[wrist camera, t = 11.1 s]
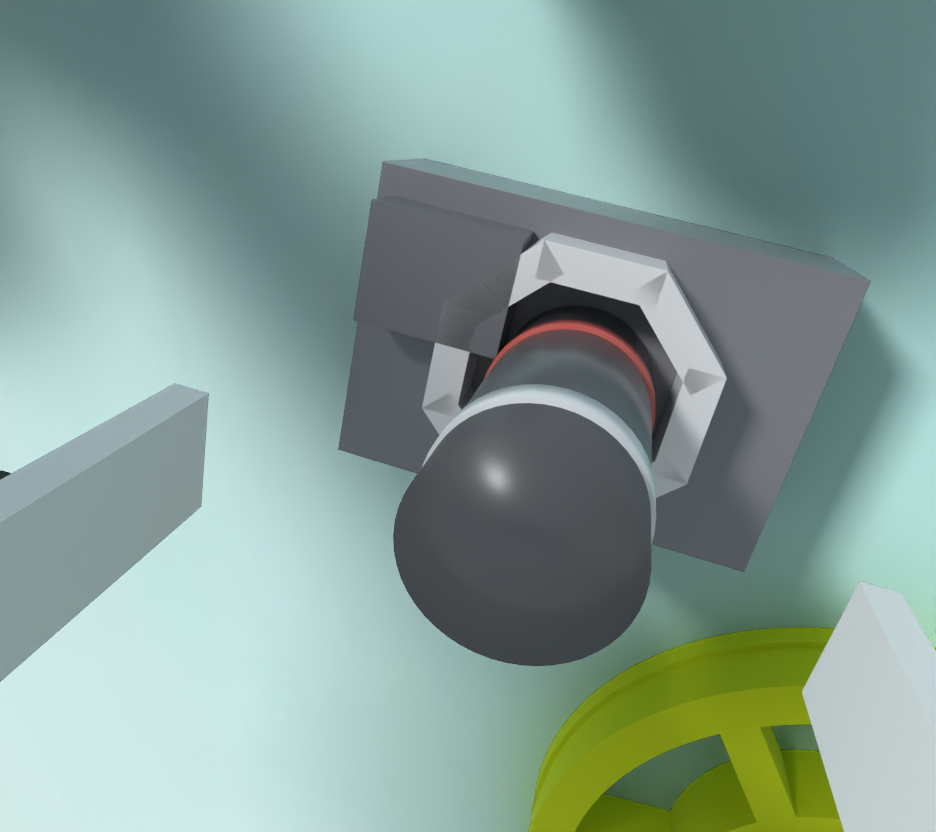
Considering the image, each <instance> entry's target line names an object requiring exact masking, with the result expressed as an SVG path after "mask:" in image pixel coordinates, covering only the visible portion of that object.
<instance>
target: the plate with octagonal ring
mask: <svg viewBox="0 0 936 832" xmlns="http://www.w3.org/2000/svg"><path fill="white" fill-rule="evenodd" d="M870 282H871V281H870V280H868V279H866V278H865V277H863V276H861V275H860V274H858V273H857V272H855V271H853V270H852V269H850V268H848V267H847V266H845V265H843V264H842V263H840V262H838V261H837V260H835V259H834V258H832V257H828V256H823V255H819V254H815V253H811V252H807V251H803V250H799V249H795V248H791V247H786V246H782V245H778V244H774V243H770V242H766V241H762V240H758V239H753V238H749V237H745V236H741V235H737V234H733V233H729V232H725V231H720V230H716V229H712V228H708V227H704V226H700V225H696V224H692V223H687V222H683V221H679V220H675V219H671V218H667V217H663V216H659V215H655V214H650V213H646V212H642V211H638V210H634V209H630V208H626V207H622V206H617V205H613V204H609V203H605V202H601V201H597V200H593V199H589V198H584V197H580V196H576V195H572V194H568V193H564V192H560V191H556V190H551V189H547V188H543V187H539V186H535V185H531V184H527V183H523V182H519V181H514V180H510V179H506V178H502V177H498V176H494V175H490V174H486V173H481V172H477V171H473V170H469V169H465V168H461V167H457V166H453V165H448V164H444V163H440V162H436V161H432V160H428V159H412V160H399V161H385V162H383V165H382V171H381V178H380V184H379V191H378V197H377V199H373V200H372V202H371V209H370V216H369V222H368V229H367V235H366V242H365V248H364V255H363V261H362V268H361V275H360V281H359V288H358V294H357V301H356V307H355V314H354V320H355V321H358V326H357V332H356V339H355V345H354V352H353V358H352V365H351V371H350V377H349V384H348V390H347V397H346V403H345V410H344V416H343V423H342V429H341V435H340V442H339V448H338V450H341V451H345V452H348V453H351V454H355V455H358V456H361V457H365V458H368V459H371V460H375V461H378V462H381V463H385V464H388V465H391V466H394V467H398V468H401V469H404V470H408V471H411V472H414V473H419V471H420V470H421V468H422V466H423V463H424V461H425V459H426V456H427V454H428V452H429V450H430V449H431V447H432V446H433V444H434V443H435V441H436V440H437V438H438V437H439V435H440V434H441V433H442V431H443V430H444V429H445V427H446V426H447V424H448V423H449V422H450V421H451V420H452V419H453V417H454V416H455V415H456V414H457V413H458V412H460V411H461V410H462V409H463V408H464V407H465V406H466V405H467V403H468V402H469V401H470V399H471V398H472V396H473V395H474V393H475V392H476V391H477V389H478V388H479V386H480V385H481V384H482V382H483V381H484V378H485V376H486V373H487V371H488V369H489V367H490V366H491V364H492V363H493V361H494V360H495V358H496V357H497V355H498V354H499V353H500V351H501V350H502V349H503V348H504V347H505V346H506V344H508V343H509V342H510V341H511V340H512V339H513V338H514V337H515V335H516V334H517V333H518V332H519V331H520V329H521V328H522V327H523V326H524V325H525V324H527V323H528V322H529V321H530V320H532V319H533V318H534V317H536V316H537V315H539V314H541V313H543V312H545V311H548V310H551V309H554V308H558V307H563V306H572V305H580V306H589V307H594V308H598V309H601V310H604V311H606V312H609V313H611V314H613V315H615V316H616V317H618V318H619V319H621V320H622V321H624V322H625V323H626V324H627V325H628V326H630V327H631V328H632V330H633V331H634V332H635V333H636V334H637V335H638V337H639V338H640V340H641V341H642V343H643V345H644V347H645V349H646V351H647V353H648V356H649V359H650V364H651V369H652V382H653V387H654V392H655V422H654V428H653V432H652V470H653V475H654V480H655V489H656V524H655V533H654V537H653V541H652V544H653V545H656V546H660V547H663V548H666V549H670V550H673V551H676V552H680V553H683V554H686V555H689V556H693V557H696V558H699V559H703V560H706V561H709V562H713V563H716V564H719V565H723V566H726V567H729V568H733V569H736V570H739V571H742V572H744V570H745V568H746V565H747V563H748V561H749V559H750V556H751V554H752V552H753V549H754V547H755V545H756V543H757V540H758V538H759V536H760V533H761V531H762V529H763V527H764V524H765V522H766V520H767V517H768V515H769V513H770V511H771V508H772V506H773V504H774V501H775V499H776V497H777V495H778V492H779V490H780V488H781V485H782V483H783V481H784V479H785V476H786V474H787V472H788V469H789V467H790V465H791V463H792V460H793V458H794V456H795V453H796V451H797V449H798V447H799V444H800V442H801V440H802V437H803V435H804V433H805V431H806V428H807V426H808V424H809V421H810V419H811V417H812V415H813V412H814V410H815V408H816V405H817V403H818V401H819V399H820V396H821V394H822V392H823V389H824V387H825V385H826V383H827V380H828V378H829V376H830V373H831V371H832V369H833V367H834V364H835V362H836V360H837V357H838V355H839V353H840V351H841V348H842V346H843V344H844V341H845V339H846V337H847V334H848V332H849V330H850V328H851V325H852V323H853V321H854V318H855V316H856V314H857V312H858V309H859V307H860V305H861V302H862V300H863V298H864V296H865V293H866V291H867V289H868V286H869V284H870Z"/></svg>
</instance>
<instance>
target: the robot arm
mask: <svg viewBox="0 0 936 832" xmlns="http://www.w3.org/2000/svg"><path fill="white" fill-rule="evenodd" d="M208 397H209V393H206V392H203V391H199V390H196V389H192V388H189V387H186V386H182V385H179V384H175V383H174V384H173V385H171V386H169V387H167V388H165V389H164V390H162V391H160V392H158V393H156V394H155V395H153V396H151V397H149V398H147V399H146V400H144V401H142V402H140V403H138V404H137V405H135V406H133V407H131V408H129V409H127V410H126V411H124V412H122V413H120V414H118V415H117V416H115V417H113V418H111V419H109V420H108V421H106V422H104V423H102V424H100V425H99V426H97V427H95V428H93V429H91V430H89V431H88V432H86V433H84V434H82V435H80V436H79V437H77V438H75V439H73V440H71V441H70V442H68V443H66V444H64V445H62V446H61V447H59V448H57V449H55V450H53V451H51V452H50V453H48V454H46V455H44V456H42V457H41V458H39V459H37V460H35V461H33V462H32V463H30V464H28V465H26V466H24V467H23V468H21V469H19V470H17V471H15V472H14V473H8V472H5V471H0V682H1V681H2V680H3V679H4V678H5V677H6V676H8V675H9V674H10V673H11V672H12V671H13V670H15V669H16V668H17V667H18V666H19V665H20V664H21V663H23V662H24V661H25V660H26V659H27V658H28V657H29V656H31V655H32V654H33V653H34V652H35V651H36V650H37V649H39V648H40V647H41V646H42V645H43V644H44V643H45V642H47V641H48V640H49V639H50V638H51V637H52V636H53V635H55V634H56V633H57V632H58V631H59V630H60V629H61V628H63V627H64V626H65V625H66V624H67V623H68V622H70V621H71V620H72V619H73V618H74V617H75V616H76V615H78V614H79V613H80V612H81V611H82V610H83V609H84V608H86V607H87V606H88V605H89V604H90V603H91V602H92V601H94V600H95V599H96V598H97V597H98V596H99V595H100V594H102V593H103V592H104V591H105V590H106V589H107V588H108V587H110V586H111V585H112V584H113V583H114V582H115V581H116V580H118V579H119V578H120V577H121V576H122V575H123V574H125V573H126V572H127V571H128V570H129V569H130V568H131V567H133V566H134V565H135V564H136V563H137V562H138V561H139V560H141V559H142V558H143V557H144V556H145V555H146V554H147V553H149V552H150V551H151V550H152V549H153V548H154V547H155V546H157V545H158V544H159V543H160V542H161V541H162V540H163V539H165V538H166V537H167V536H168V535H169V534H170V533H171V532H173V531H174V530H175V529H176V528H177V527H178V526H180V525H181V524H182V523H183V522H184V521H185V520H186V519H188V518H189V517H190V516H191V515H192V514H193V513H194V512H196V511H197V510H198V509H199V508H200V507H201V502H202V487H203V472H204V457H205V442H206V427H207V412H208ZM802 694H803V698H804V701H805V704H806V708H807V711H808V714H809V718H810V721H811V724H812V728H813V731H814V734H815V737H816V741H817V744H818V747H819V751H820V754H821V757H822V761H823V764H824V767H825V771H826V774H827V777H828V780H829V784H830V787H831V790H832V794H833V797H834V800H835V804H836V807H837V810H838V814H839V817H840V820H841V823H842V827H843V830H844V832H936V651H935V649H934V647H933V646H932V644H931V642H930V640H929V639H928V637H927V635H926V634H925V632H924V630H923V628H922V627H921V625H920V623H919V622H918V620H917V618H916V616H915V615H914V613H913V611H912V610H911V608H910V606H909V604H908V603H907V601H906V599H905V598H904V596H903V594H902V593H898V592H895V591H891V590H888V589H884V588H881V587H877V586H874V585H871V584H867V583H864V582H859V584H858V586H857V588H856V590H855V591H854V593H853V595H852V597H851V599H850V601H849V603H848V605H847V607H846V609H845V610H844V612H843V614H842V616H841V618H840V620H839V622H838V624H837V626H836V628H835V629H834V631H833V633H832V635H831V637H830V639H829V641H828V643H827V645H826V647H825V649H824V650H823V652H822V654H821V656H820V658H819V660H818V662H817V664H816V666H815V668H814V669H813V671H812V673H811V675H810V677H809V679H808V681H807V683H806V685H805V687H804V688H803V690H802Z"/></svg>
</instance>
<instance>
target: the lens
mask: <svg viewBox="0 0 936 832" xmlns="http://www.w3.org/2000/svg"><path fill="white" fill-rule="evenodd" d="M654 422H655V392H654V387H653V382H652V369H651V364H650V359H649V356H648V353H647V351H646V349H645V347H644V345H643V343H642V341H641V340H640V338H639V337H638V335H637V334H636V333H635V332H634V331H633V330H632V328H631V327H630V326H628V325H627V324H626V323H625V322H624V321H622V320H621V319H619V318H618V317H616V316H615V315H613V314H611V313H609V312H606V311H604V310H601V309H598V308H594V307H589V306H580V305H572V306H563V307H558V308H554V309H551V310H548V311H545V312H543V313H541V314H539V315H537V316H536V317H534V318H533V319H532V320H530V321H529V322H528V323H527V324H525V325H524V326H523V327H522V328H521V329H520V331H519V332H518V333H517V334H516V335H515V337H514V338H513V339H512V340H511V341H510V342H509V343H508V344H506V346H505V347H504V348H503V349H502V350H501V351H500V353H499V354H498V355H497V357H496V358H495V360H494V361H493V363H492V364H491V366H490V367H489V369H488V371H487V373H486V376H485V378H484V381H483V382H482V384H481V385H480V386H479V388H478V389H477V391H476V392H475V393H474V395H473V396H472V398H471V399H470V401H469V402H468V403H467V405H466V406H465V407H464V408H463V409H462V410H461V411H460V412H458V413H457V414H456V415H455V416H454V417H453V419H452V420H451V421H450V422H449V423H448V424H447V426H446V427H445V429H444V430H443V431H442V433H441V434H440V435H439V437H438V438H437V440H436V441H435V443H434V444H433V446H432V447H431V449H430V450H429V452H428V454H427V456H426V459H425V461H424V463H423V466H422V468H421V470H420V471H419V473H418V474H417V476H416V477H415V478H414V480H413V481H412V483H411V484H410V486H409V487H408V489H407V491H406V492H405V494H404V496H403V498H402V501H401V503H400V505H399V508H398V511H397V515H396V519H395V525H394V534H393V537H394V552H395V558H396V564H397V567H398V570H399V573H400V576H401V579H402V581H403V583H404V585H405V587H406V590H407V591H408V593H409V595H410V596H411V598H412V600H413V601H414V603H415V604H416V605H417V607H418V608H419V609H420V611H421V612H422V613H423V614H424V616H425V617H426V618H427V619H428V620H429V621H430V622H431V623H432V624H433V625H434V626H435V627H437V628H438V629H439V630H440V631H441V632H443V633H444V634H445V635H446V636H448V637H449V638H451V639H452V640H454V641H455V642H457V643H458V644H460V645H462V646H464V647H465V648H467V649H469V650H471V651H473V652H475V653H478V654H480V655H483V656H486V657H488V658H491V659H495V660H498V661H502V662H506V663H512V664H518V665H529V666H546V665H556V664H562V663H568V662H572V661H575V660H578V659H582V658H584V657H587V656H589V655H591V654H593V653H596V652H598V651H599V650H601V649H603V648H604V647H606V646H608V645H609V644H611V643H612V642H613V641H614V640H615V639H617V638H618V637H619V636H620V635H621V634H622V633H623V632H624V631H625V630H626V629H627V628H628V627H629V626H630V624H631V623H632V622H633V620H634V619H635V617H636V616H637V614H638V613H639V611H640V609H641V606H642V604H643V602H644V600H645V597H646V594H647V590H648V587H649V582H650V573H651V544H652V541H653V537H654V533H655V524H656V489H655V480H654V475H653V470H652V432H653V428H654Z"/></svg>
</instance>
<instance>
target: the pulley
mask: <svg viewBox="0 0 936 832" xmlns="http://www.w3.org/2000/svg"><path fill="white" fill-rule="evenodd" d="M834 629H835V628H820V627H786V628H767V629H758V630H748V631H742V632H735V633H729V634H724V635H719V636H714V637H710V638H705V639H702V640H698V641H695V642H691V643H688V644H684V645H681V646H679V647H676V648H673V649H670V650H667V651H665V652H662V653H660V654H658V655H655V656H653V657H651V658H648V659H646V660H644V661H642V662H640V663H638V664H636V665H634V666H632V667H631V668H629V669H627V670H626V671H624V672H622V673H621V674H619V675H617V676H616V677H614V678H613V679H611V680H610V681H608V682H607V683H606V684H604V685H603V686H601V687H600V688H599V689H598V690H597V691H595V692H594V693H593V694H592V695H590V696H589V697H588V698H587V699H586V700H585V701H584V702H583V703H582V704H581V705H580V706H579V707H578V708H577V709H576V710H575V711H574V712H573V714H572V715H571V716H570V717H569V718H568V719H567V721H566V722H565V723H564V725H563V726H562V727H561V729H560V730H559V732H558V733H557V735H556V737H555V738H554V740H553V742H552V743H551V745H550V747H549V749H548V751H547V753H546V755H545V758H544V761H543V763H542V766H541V769H540V772H539V776H538V780H537V784H536V790H535V796H534V802H533V808H532V817H531V820H530V826H529V832H844V830H843V827H842V823H841V820H840V817H839V814H838V810H837V807H836V804H835V800H834V797H833V794H832V790H831V787H830V784H829V780H828V777H827V774H826V771H825V767H824V764H823V761H822V757H821V754H820V751H816V750H793V749H791V750H781V749H780V746H779V744H778V741H777V739H776V736H775V734H774V731H773V729H772V726H778V725H802V724H804V725H812V724H811V721H810V718H809V714H808V711H807V708H806V704H805V701H804V698H803V694H802V690H803V688H804V687H805V685H806V683H807V681H808V679H809V677H810V675H811V673H812V671H813V669H814V668H815V666H816V664H817V662H818V660H819V658H820V656H821V654H822V652H823V650H824V649H825V647H826V645H827V643H828V641H829V639H830V637H831V635H832V633H833V631H834ZM934 649H935V651H936V648H934ZM718 734H720V736H721V738H722V740H723V743H724V745H725V748H726V750H727V752H728V755H729V757H730V761H728V762H725V763H723V764H721V765H718V766H716V767H714V768H712V769H711V770H709V771H707V772H706V773H704V774H703V775H701V776H700V777H698V778H697V779H696V780H695V781H693V782H692V783H691V784H690V785H689V786H688V787H687V788H686V789H685V790H684V791H683V792H682V793H681V795H680V796H679V797H678V798H677V800H676V802H675V803H674V805H673V807H672V809H671V810H666V809H662V808H658V807H654V806H650V805H646V804H642V803H638V802H634V801H630V800H626V799H622V798H618V797H614V796H610V795H606V794H603V793H604V792H605V791H606V790H607V789H608V788H609V787H610V786H611V785H613V784H614V783H615V782H616V781H618V780H619V779H620V778H622V777H623V776H624V775H626V774H627V773H629V772H630V771H632V770H633V769H635V768H636V767H638V766H639V765H641V764H643V763H645V762H646V761H648V760H650V759H652V758H654V757H656V756H658V755H660V754H662V753H664V752H666V751H669V750H671V749H674V748H676V747H679V746H681V745H684V744H687V743H690V742H693V741H696V740H699V739H703V738H706V737H710V736H714V735H718Z"/></svg>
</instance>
